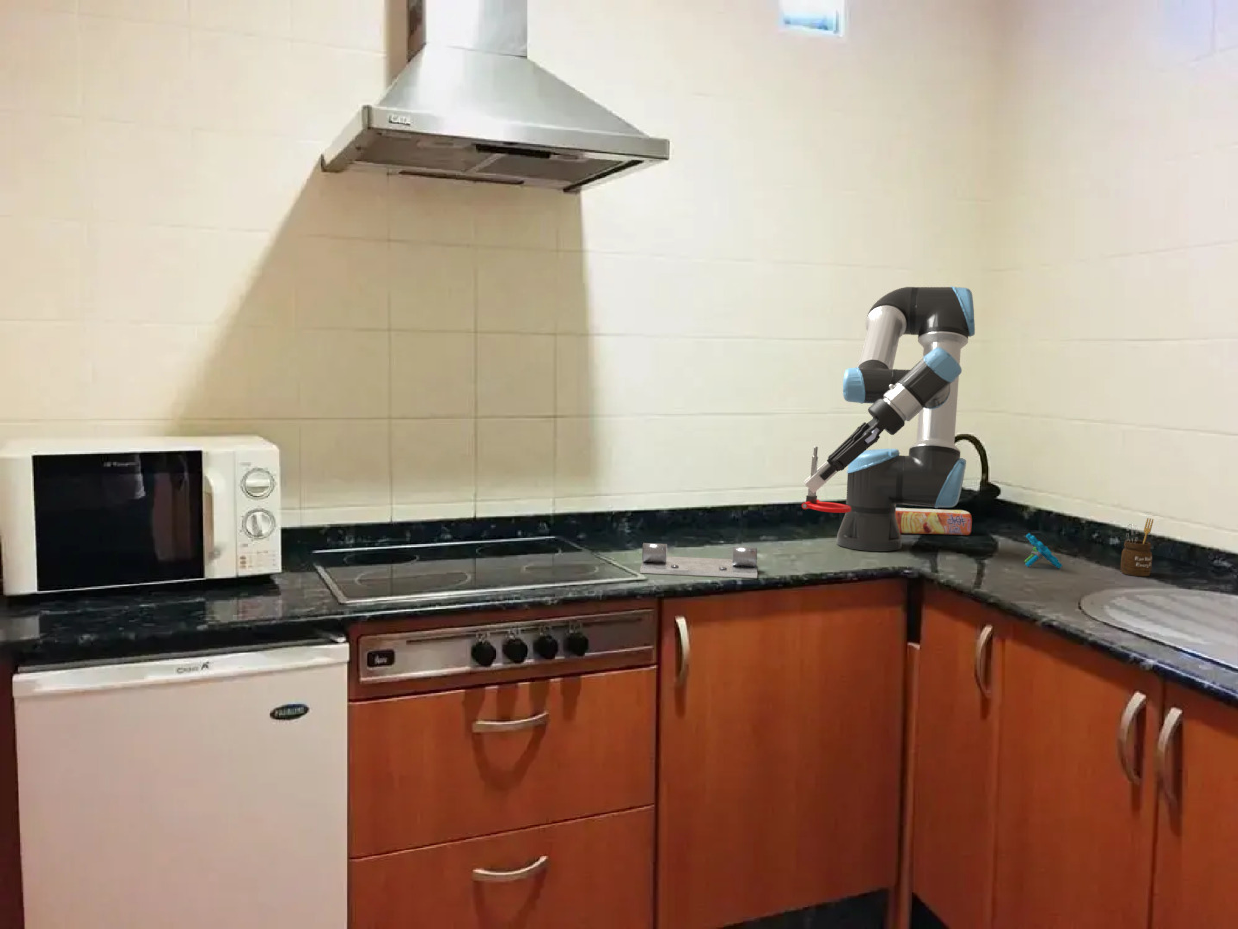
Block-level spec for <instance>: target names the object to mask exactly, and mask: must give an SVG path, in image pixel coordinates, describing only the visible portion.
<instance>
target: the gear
mask: <svg viewBox="0 0 1238 929" xmlns="http://www.w3.org/2000/svg"><path fill="white" fill-rule="evenodd" d="M1025 538H1026V539H1027V540H1028V541H1029V543H1030V544H1031V545H1032V546H1034V547H1033V548H1032V551H1031V552H1030V555H1029V556H1028V557H1027V558H1026V559H1025V560H1024V561H1023V562H1024V563H1025V564H1024V565H1025V566H1026V567H1027V568H1029V567H1030V566H1032V565H1033V564H1034V563H1035V562H1036V561H1038V560H1041V559H1042V558H1043V557H1044V559H1046V561H1049V562H1050V563H1051V565H1052V566H1053V567H1056V568H1057V569H1058V570H1059V569H1061V568H1062V567H1063V564H1062V563H1061V562H1060V560H1059V559H1058V558H1057V556H1054V555H1053V554H1052V553H1053V551H1051V550H1050V548H1048V546H1047V545H1046V546H1045V545H1044V544H1043V542H1042V541H1040V540H1039V539H1037V538H1036V537H1035V535H1032V534H1031V533H1029V532H1028V533H1027V534H1026V535H1025Z"/></svg>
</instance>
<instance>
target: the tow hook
mask: <svg viewBox="0 0 1238 929" xmlns="http://www.w3.org/2000/svg"><path fill="white" fill-rule="evenodd" d="M818 449H819V447H818V446H813V454H812V455H813V456H812V457H811V465H810V476H811V477H812V476H813V475H814V474H815V473H817V469H818V462H819V461H818V459H819V456H818ZM807 488H808V487H807ZM805 496H806V497H805V501H804V502H802V504H801V508H802V509H803V510H808V509H811V510H815V511H819V512H825V513H834V514H837V513H838V514H840V513H842V514H843V513H844V514H845V513H846V512H850V511H851V507H850V506H848V505H846V504H843V503H837V502H828V501H827V502H826V501H820V500H819V499H818V495H817V491H816V492H815V493H813V492H812V491H811V490H810V489H809V488H808V489H807V495H805Z"/></svg>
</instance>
